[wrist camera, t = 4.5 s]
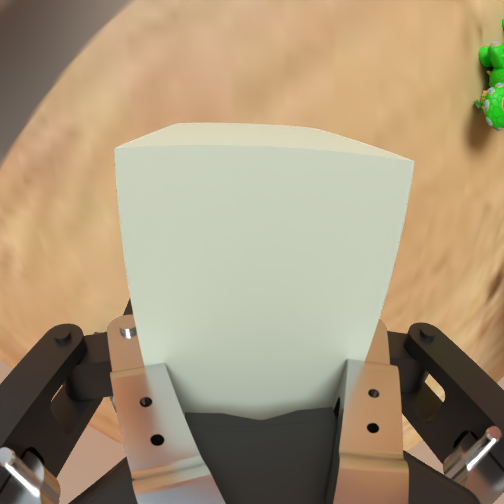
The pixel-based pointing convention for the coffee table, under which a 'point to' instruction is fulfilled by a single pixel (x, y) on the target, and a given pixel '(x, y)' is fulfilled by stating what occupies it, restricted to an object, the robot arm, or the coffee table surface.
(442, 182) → the coffee table surface
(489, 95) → the crocodile figurine
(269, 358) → the block
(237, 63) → the coffee table surface
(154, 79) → the coffee table surface
